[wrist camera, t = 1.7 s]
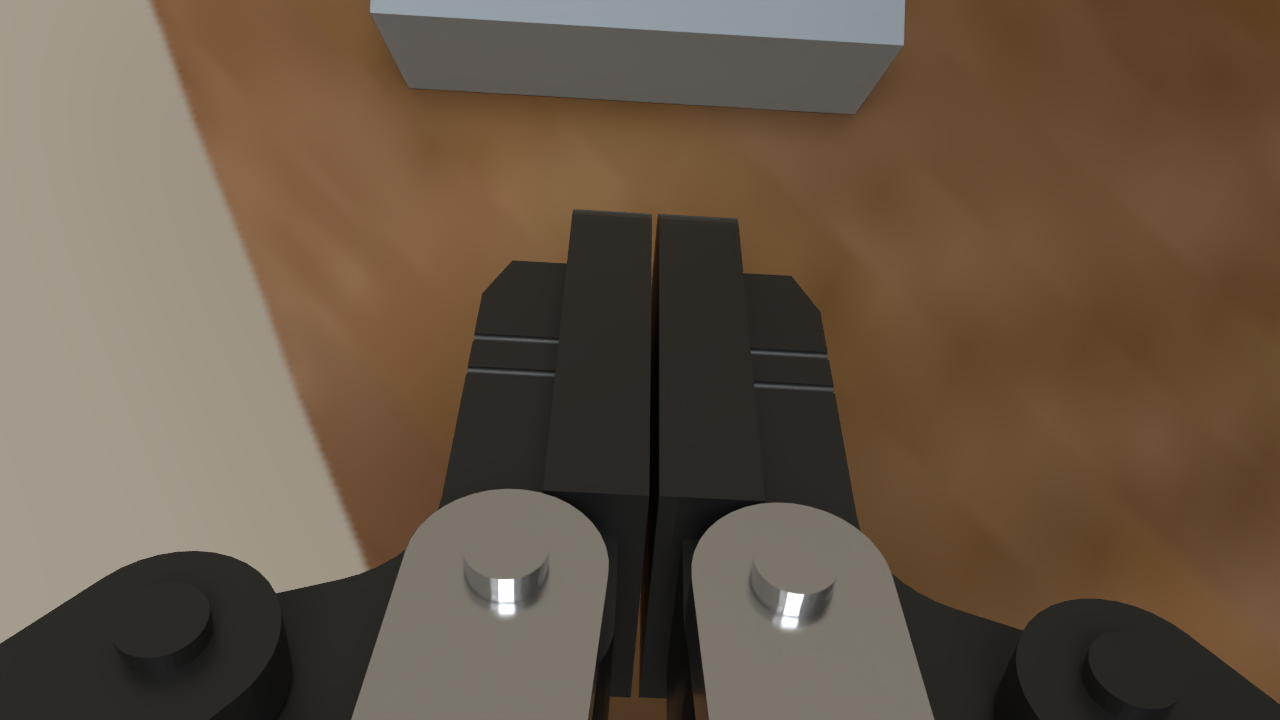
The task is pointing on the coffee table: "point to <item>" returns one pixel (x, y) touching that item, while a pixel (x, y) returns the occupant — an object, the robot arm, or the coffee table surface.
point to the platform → (650, 49)
